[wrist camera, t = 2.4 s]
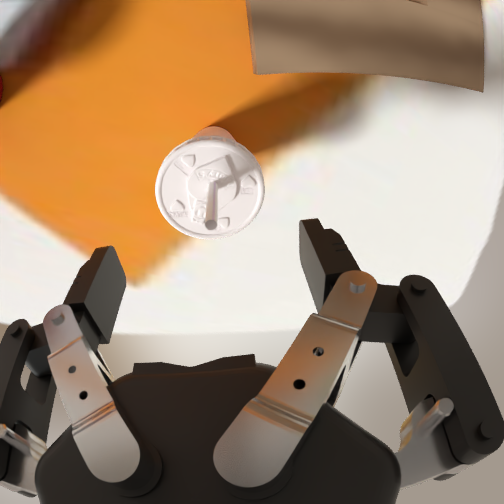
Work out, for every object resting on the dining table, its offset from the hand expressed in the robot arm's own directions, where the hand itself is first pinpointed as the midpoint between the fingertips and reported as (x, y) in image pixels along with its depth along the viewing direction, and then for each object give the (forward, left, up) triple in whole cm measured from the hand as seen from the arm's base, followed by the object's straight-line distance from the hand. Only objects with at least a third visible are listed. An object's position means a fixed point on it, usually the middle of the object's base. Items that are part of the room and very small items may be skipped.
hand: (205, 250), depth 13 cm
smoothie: (0, 0, -15) cm, 15 cm away
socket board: (-17, +15, -15) cm, 27 cm away
